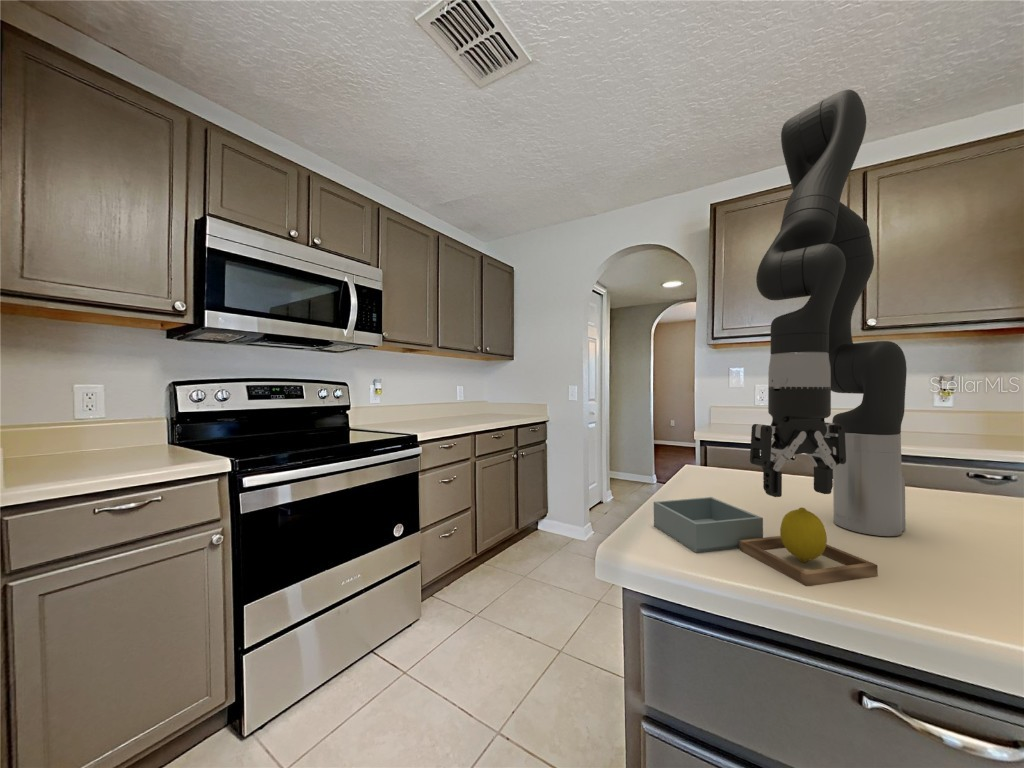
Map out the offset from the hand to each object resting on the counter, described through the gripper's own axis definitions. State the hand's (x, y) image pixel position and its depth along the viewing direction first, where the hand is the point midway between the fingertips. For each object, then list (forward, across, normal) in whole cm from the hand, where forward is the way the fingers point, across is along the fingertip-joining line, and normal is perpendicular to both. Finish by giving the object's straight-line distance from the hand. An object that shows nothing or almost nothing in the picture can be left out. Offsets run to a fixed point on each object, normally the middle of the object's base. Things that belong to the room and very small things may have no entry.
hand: (798, 494), depth 59 cm
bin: (+10, +6, -12) cm, 17 cm away
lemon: (+10, -1, 0) cm, 10 cm away
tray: (+10, -1, 0) cm, 10 cm away
